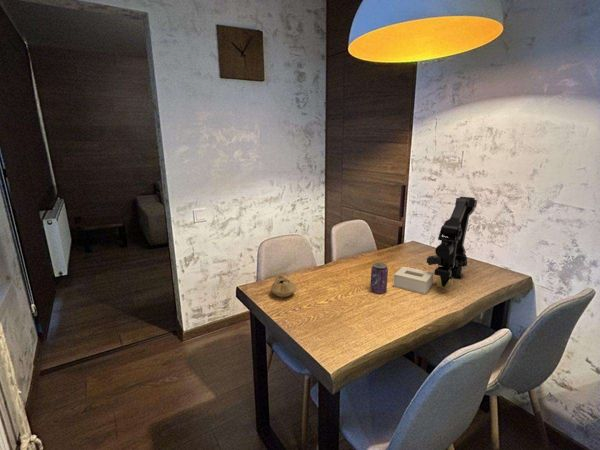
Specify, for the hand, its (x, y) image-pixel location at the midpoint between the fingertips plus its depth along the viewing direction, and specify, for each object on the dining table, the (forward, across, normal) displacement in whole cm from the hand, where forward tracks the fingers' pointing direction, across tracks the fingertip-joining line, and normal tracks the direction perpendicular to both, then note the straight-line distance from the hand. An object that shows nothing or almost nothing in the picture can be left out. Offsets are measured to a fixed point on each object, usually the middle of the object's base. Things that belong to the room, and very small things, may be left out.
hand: (444, 284), depth 146 cm
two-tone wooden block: (+1, 0, 0) cm, 1 cm away
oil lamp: (+2, +48, -56) cm, 74 cm away
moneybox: (+1, +7, -12) cm, 14 cm away
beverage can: (+1, +21, -23) cm, 31 cm away
